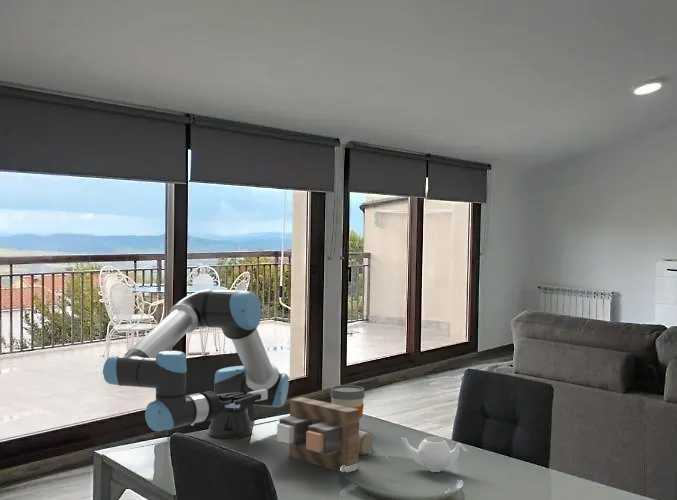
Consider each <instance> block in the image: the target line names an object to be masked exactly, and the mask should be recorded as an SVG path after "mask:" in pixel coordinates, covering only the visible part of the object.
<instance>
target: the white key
mask: <svg viewBox="0 0 677 500" xmlns="http://www.w3.org/2000/svg"><path fill="white" fill-rule="evenodd" d="M276 425H277V426H276V431H277V433H276V441H277V442H279V441H280V442H284V443H287V444H290V443H294V427H295V425H292V424H288V423H280V424H279V423H278V424H276ZM280 442H279V443H280ZM284 443H283V444H284ZM287 444H286V445H287Z"/></svg>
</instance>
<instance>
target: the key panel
mask: <svg viewBox="0 0 677 500" xmlns="http://www.w3.org/2000/svg"><path fill="white" fill-rule="evenodd" d="M331 403H332V402H331ZM331 403H330V402H326V401H322V400H316V399H312V398H307V397H302V396H299V397H295V398H291V399H289V416H285V417H281V418H279V420H278V421H279V423H278V424H280V423H288V424H292V425H295V427H294V443H290V444H287V443H284V442H280V441H278V443H281V444H284V445H288V446H289V447H288V449H289V453H288V455H289V456H288V457H290V458H293V459H297V460H300V461H304V462H308V463H311V464H315V465H318V466H319V467H324V468H328V469H331V470H335V471H338V472H341V471H340V467H341V466H342V465H345V466H350V465H353V464H356V463H358V464H359V459H360V458H359V430H360V427H359V409H355V408H350V407H345V406H341V405H336V404H331ZM310 430H316V431H320V432H324V451H321V452H316V451H312V450H309V449H306V432H307V431H310Z"/></svg>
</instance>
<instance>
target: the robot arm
mask: <svg viewBox="0 0 677 500" xmlns="http://www.w3.org/2000/svg"><path fill="white" fill-rule="evenodd" d="M261 309H262V306H261V302H260V299H259V298H258V296H257V294H255V293H254V292H253V291H249V290H243V289H235V290H234V289H212V288H211V289H201V290H198V291H196V292H195V291H194V292H193V293H191V294H189V295H187V296H185V297H183V298H182V299H180V300H179V301H177V302H176V303H175V304H174V305H173V306H171V308H170V309H169V312H168V315H167V316H166V317H164V318H163V319H162V320H161V321H160V322H159V323H158V324H157V325H155V327H154V328H152V329H151V331H149V332H148V333H146V335H145V336H144V337H142V338H141V339H140V340H139V341H138V342H136V344H134V346H133V347H131V348H130V349H129V350H128V351H127V352H126V353H125V354H124V355H120V354H118V355H112V356H109V357H107V358H106V360H105V362H104V364H103V367H102V368H103V369H102V375H103V379H104V381H105V382H106V384H109V385H112V386H113V385H115V386H119V387H122V386H123V387H137V388H148V389H150V388H151V389H155V400H153V401H151V402H149V403H148V404H147V405H146V409H145V412H144V418H145V422H146V424H147V426H148V427H149V428H150V429H151V430H152V431H154V432H160V431H166V430H168V431H171V430H172V429H176V428H180V427H184V426H189V425H190V426H192V427H193V426H195V424H197V423H198V424H199V423H202V422H207V421H210V424H209V426H208V435H209V436H211V437H213V438H219V439H239V438H244V437H248V436H250V435H251V434H252V433H253V424H252V422H251V419H250V415H249V413H248V412H249V411H248V408H249V407H251V406H256V407H257V406H258V407H259V406H260V407H265V408H266V407H268V408H281V407H283V406H284V405H285V403H286V400H287V397H288V393H289V388H290V387H289V386H290V381H289V376H288V374H287V373H284V372H282V373H280V371H279V370H278V368H277V366H276V365H275V364H273V363H271V361H270V359H269V356H268V354H267V351H266V349H265V346H264V344H263V341H262V338H261V335H260V334H259V331H258V326H259V325H260V322H261V321H262V310H261ZM207 327H208V328H217V329H221V331H222V333H223V335H224V336H225V337H226V338H227V339H229V340H231V342H232V343H233V346H234V348H235V350H236V352H237V355H238V356H239V359H240V361H241V364H242V365H235V366H228V367H223V368H220V369H218V370H216V372H215V373H214V381H213V384H214V389H213V391H211V390H210V391H204V392H198V393H192V394H188V395H187V371H188V368H187V356H186V354H185V352H183V351H180V350H171V349H172V348H173V347H174V346H175V345H176V344H177V343H178V342H179V341H180V340H181V339H182V338H183V337H184V336H185V335H186V334H189V333H192V332H194V331H195V330H197V329H198V328H207Z"/></svg>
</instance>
